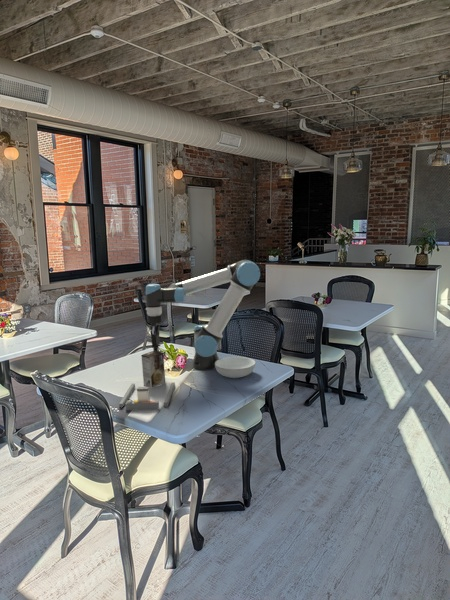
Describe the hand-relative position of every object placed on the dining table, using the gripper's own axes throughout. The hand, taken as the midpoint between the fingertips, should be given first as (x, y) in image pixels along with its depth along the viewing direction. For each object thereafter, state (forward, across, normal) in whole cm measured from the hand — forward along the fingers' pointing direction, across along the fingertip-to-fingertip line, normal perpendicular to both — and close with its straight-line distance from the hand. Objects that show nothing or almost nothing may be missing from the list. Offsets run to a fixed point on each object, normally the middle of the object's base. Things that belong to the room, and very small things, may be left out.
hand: (156, 359), depth 227 cm
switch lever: (+9, +36, 0) cm, 38 cm away
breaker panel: (+9, +28, 0) cm, 29 cm away
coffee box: (+10, +12, 0) cm, 15 cm away
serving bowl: (+9, 0, +40) cm, 42 cm away
